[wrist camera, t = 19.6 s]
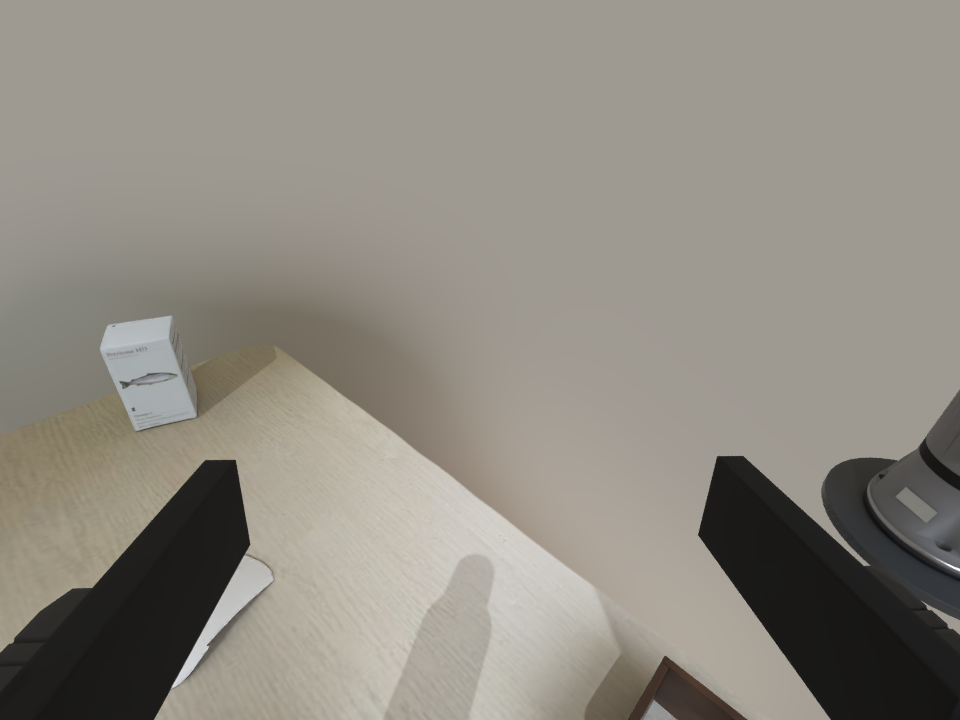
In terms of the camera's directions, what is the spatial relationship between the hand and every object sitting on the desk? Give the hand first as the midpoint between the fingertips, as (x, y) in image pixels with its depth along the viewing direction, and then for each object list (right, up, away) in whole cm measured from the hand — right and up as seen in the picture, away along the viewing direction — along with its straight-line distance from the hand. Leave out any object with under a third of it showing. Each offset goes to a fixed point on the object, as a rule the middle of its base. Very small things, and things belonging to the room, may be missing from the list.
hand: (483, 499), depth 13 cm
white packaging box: (-43, -3, +52) cm, 68 cm away
